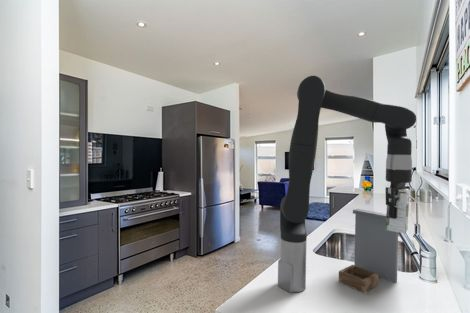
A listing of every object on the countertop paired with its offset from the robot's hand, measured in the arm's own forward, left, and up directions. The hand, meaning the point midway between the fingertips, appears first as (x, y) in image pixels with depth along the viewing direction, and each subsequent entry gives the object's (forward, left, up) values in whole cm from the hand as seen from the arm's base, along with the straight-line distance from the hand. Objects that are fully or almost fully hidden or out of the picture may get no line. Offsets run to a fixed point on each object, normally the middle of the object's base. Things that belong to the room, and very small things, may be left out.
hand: (397, 216), depth 89 cm
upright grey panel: (+10, +12, -27) cm, 31 cm away
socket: (-2, +12, -27) cm, 30 cm away
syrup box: (0, 0, -5) cm, 5 cm away
